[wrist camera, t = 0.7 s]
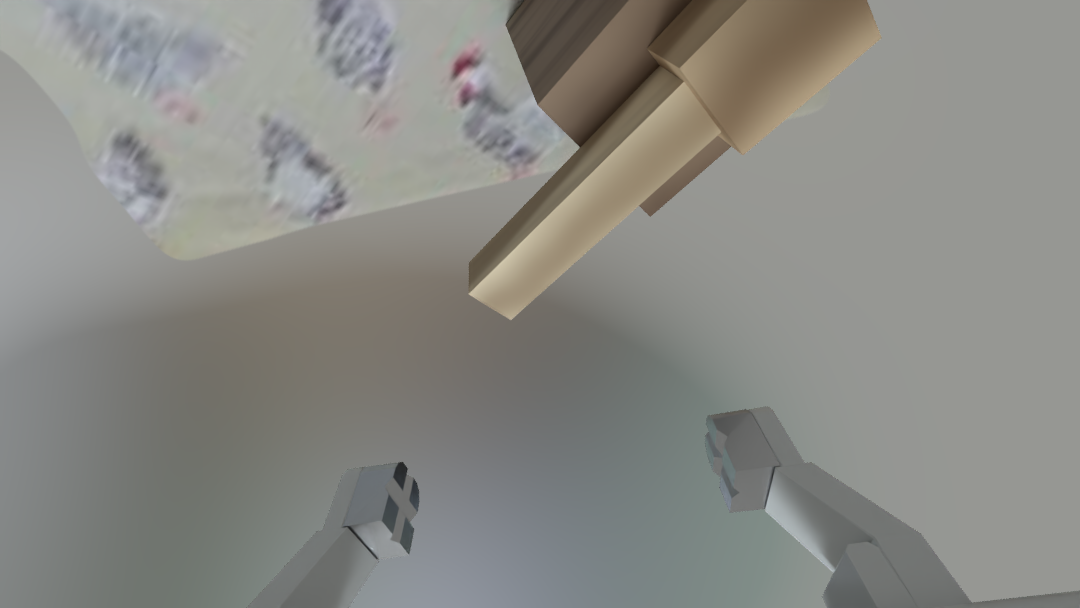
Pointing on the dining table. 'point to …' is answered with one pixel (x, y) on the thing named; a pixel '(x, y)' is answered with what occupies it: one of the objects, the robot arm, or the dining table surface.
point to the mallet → (674, 127)
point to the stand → (597, 67)
